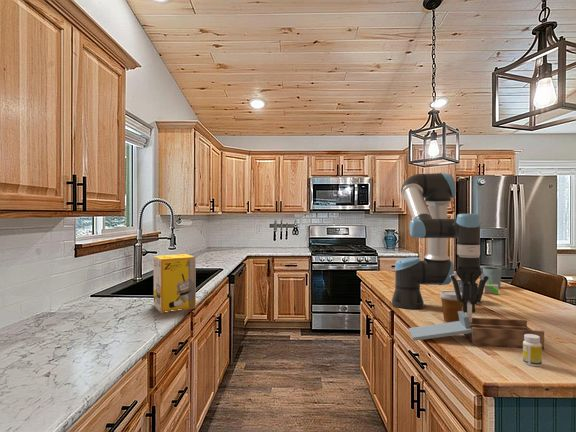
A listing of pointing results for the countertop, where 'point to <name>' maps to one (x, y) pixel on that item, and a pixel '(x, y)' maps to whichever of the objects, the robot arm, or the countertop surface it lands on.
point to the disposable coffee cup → (450, 306)
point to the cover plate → (442, 329)
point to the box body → (500, 332)
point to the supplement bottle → (532, 350)
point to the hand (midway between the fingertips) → (468, 321)
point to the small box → (468, 289)
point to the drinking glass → (493, 275)
